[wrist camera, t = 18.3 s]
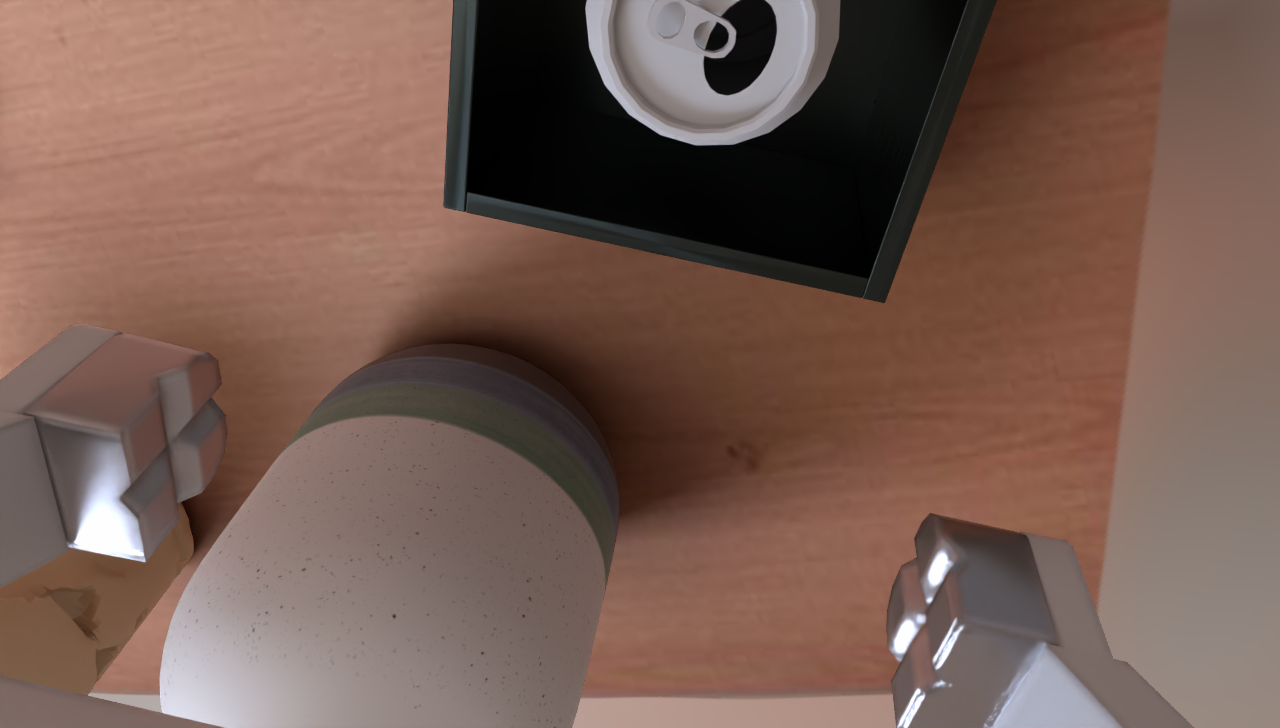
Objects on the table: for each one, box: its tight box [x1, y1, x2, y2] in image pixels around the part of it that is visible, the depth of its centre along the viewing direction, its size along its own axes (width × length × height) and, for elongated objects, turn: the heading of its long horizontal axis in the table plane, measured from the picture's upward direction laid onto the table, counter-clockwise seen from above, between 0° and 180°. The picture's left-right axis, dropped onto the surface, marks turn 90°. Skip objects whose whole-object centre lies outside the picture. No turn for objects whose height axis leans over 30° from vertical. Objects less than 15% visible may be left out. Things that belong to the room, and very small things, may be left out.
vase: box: [160, 344, 619, 728], centre depth 42 cm, size 17×17×24 cm
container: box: [0, 502, 194, 696], centre depth 52 cm, size 13×13×18 cm
